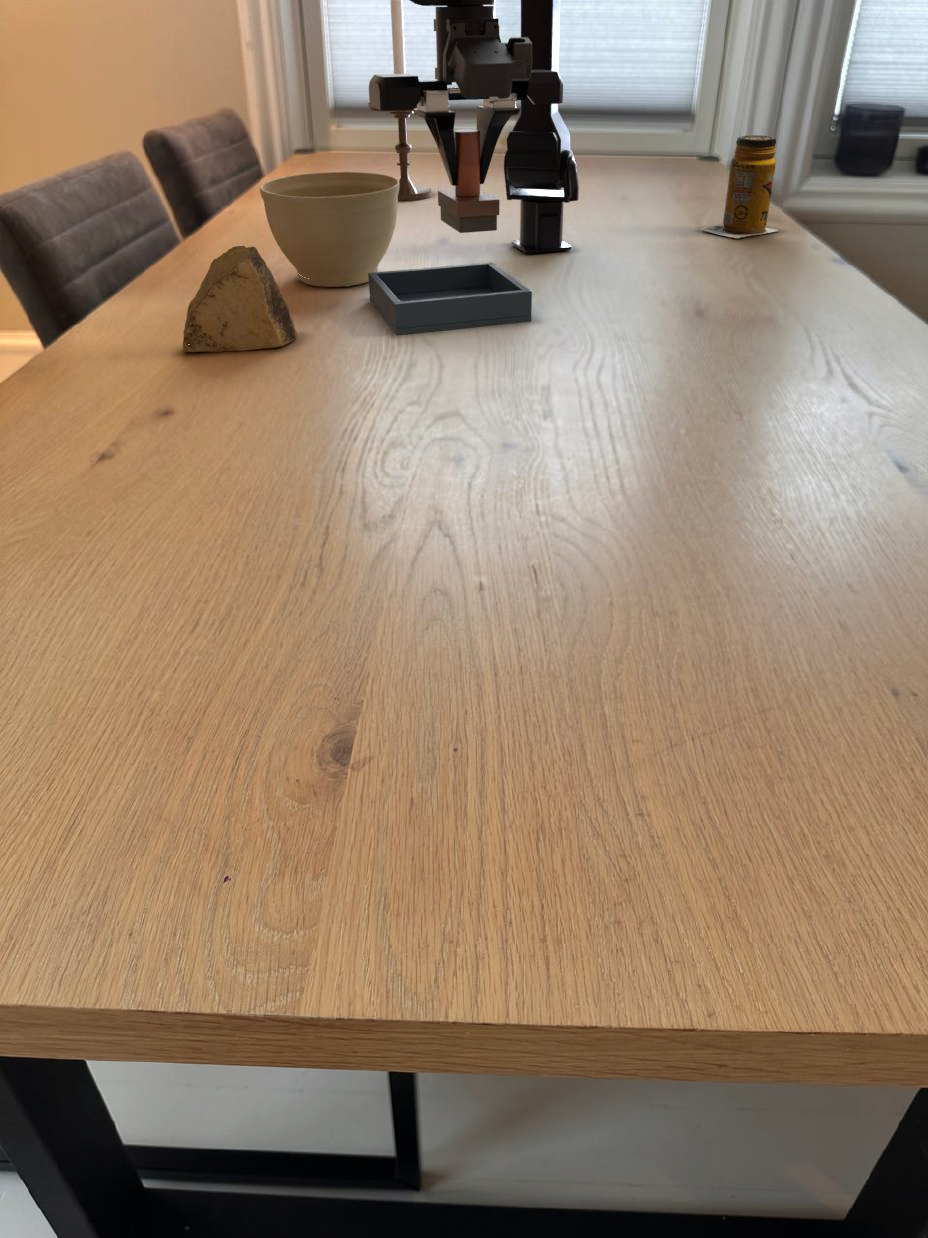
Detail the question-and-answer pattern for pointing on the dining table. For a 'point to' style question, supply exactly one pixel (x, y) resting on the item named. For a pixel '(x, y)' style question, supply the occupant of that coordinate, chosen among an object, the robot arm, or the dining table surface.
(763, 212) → the condiment
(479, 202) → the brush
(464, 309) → the tray
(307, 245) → the planter bowl
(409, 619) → the dining table surface
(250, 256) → the rock
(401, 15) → the candlestick
